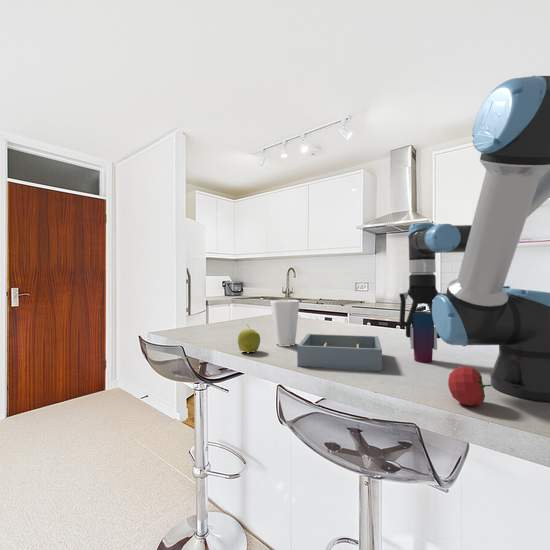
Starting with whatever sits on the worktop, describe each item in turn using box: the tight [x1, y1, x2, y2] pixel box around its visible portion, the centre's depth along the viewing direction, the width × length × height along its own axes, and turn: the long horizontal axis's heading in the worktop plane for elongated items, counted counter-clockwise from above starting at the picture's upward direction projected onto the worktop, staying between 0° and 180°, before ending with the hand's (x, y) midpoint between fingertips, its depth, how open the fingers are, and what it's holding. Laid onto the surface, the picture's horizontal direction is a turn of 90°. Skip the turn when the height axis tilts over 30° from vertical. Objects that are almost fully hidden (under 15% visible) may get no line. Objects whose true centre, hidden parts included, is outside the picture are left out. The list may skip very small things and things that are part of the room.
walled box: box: [296, 333, 383, 372], centre depth 104 cm, size 20×24×6 cm
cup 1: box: [270, 299, 300, 346], centre depth 127 cm, size 11×10×17 cm
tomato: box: [447, 365, 492, 407], centre depth 68 cm, size 8×8×8 cm
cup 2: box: [411, 310, 435, 364], centre depth 102 cm, size 7×7×15 cm
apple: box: [237, 324, 261, 352], centre depth 116 cm, size 8×8×10 cm
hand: (423, 348), depth 102 cm, fingers closed on cup 2, 6 cm apart
